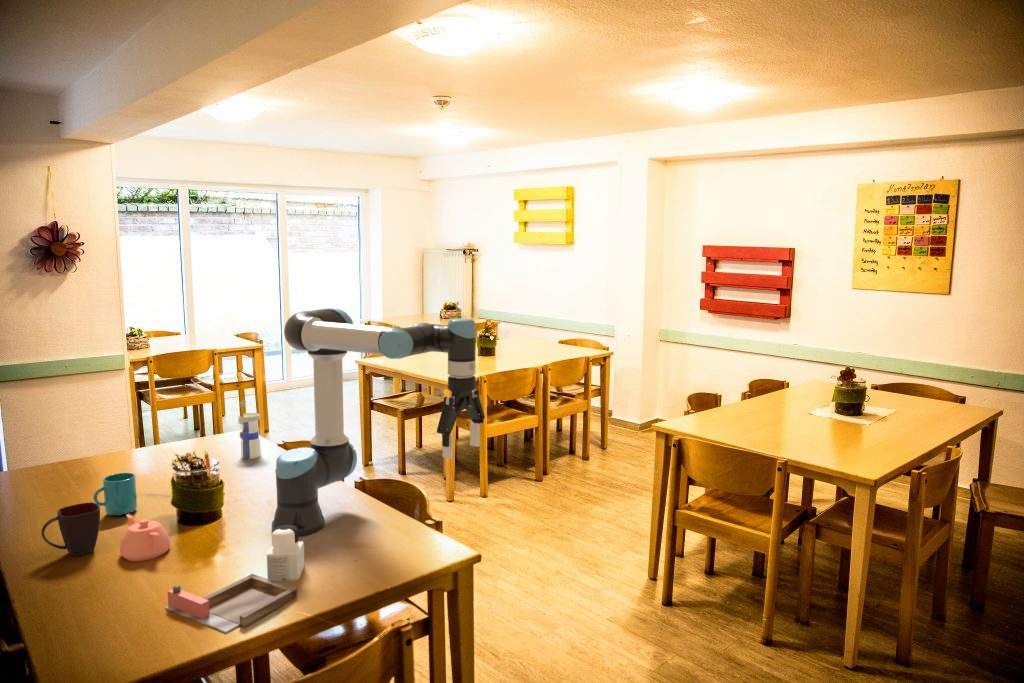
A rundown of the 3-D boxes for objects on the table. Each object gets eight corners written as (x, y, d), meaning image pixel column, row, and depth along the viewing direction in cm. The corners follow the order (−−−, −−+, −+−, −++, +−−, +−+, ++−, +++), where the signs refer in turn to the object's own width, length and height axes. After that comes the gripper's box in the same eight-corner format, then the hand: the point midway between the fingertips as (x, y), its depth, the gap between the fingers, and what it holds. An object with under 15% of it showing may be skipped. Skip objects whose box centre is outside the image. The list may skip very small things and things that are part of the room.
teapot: (136, 569, 185) (134, 535, 184) (107, 550, 196) (105, 518, 195) (182, 554, 195) (180, 521, 193) (151, 537, 206) (149, 505, 204)
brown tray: (165, 608, 165) (164, 598, 165) (233, 576, 182) (232, 567, 181) (231, 635, 154) (230, 624, 154) (297, 598, 171) (296, 588, 170)
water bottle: (234, 465, 272) (232, 402, 269) (246, 459, 281) (244, 397, 278) (254, 467, 271) (252, 403, 268) (266, 460, 280) (263, 398, 276)
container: (274, 569, 186) (273, 522, 184) (304, 568, 187) (303, 521, 185) (267, 583, 178) (265, 534, 177) (298, 582, 179) (297, 533, 177)
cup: (91, 512, 224) (89, 478, 222) (133, 503, 232) (131, 470, 230) (98, 521, 217) (95, 485, 216) (140, 511, 225) (138, 477, 224)
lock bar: (168, 605, 166) (167, 586, 165) (176, 601, 168) (174, 582, 167) (201, 618, 160) (201, 599, 160) (209, 614, 162) (208, 595, 161)
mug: (106, 551, 195) (103, 510, 194) (46, 566, 186) (43, 522, 185) (98, 540, 203) (95, 500, 201) (40, 553, 194) (37, 512, 192)
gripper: (447, 384, 179) (447, 465, 182) (497, 370, 201) (496, 442, 203) (423, 381, 183) (423, 461, 185) (474, 367, 204) (474, 439, 207)
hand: (461, 451), depth 194 cm, fingers open, 13 cm apart
